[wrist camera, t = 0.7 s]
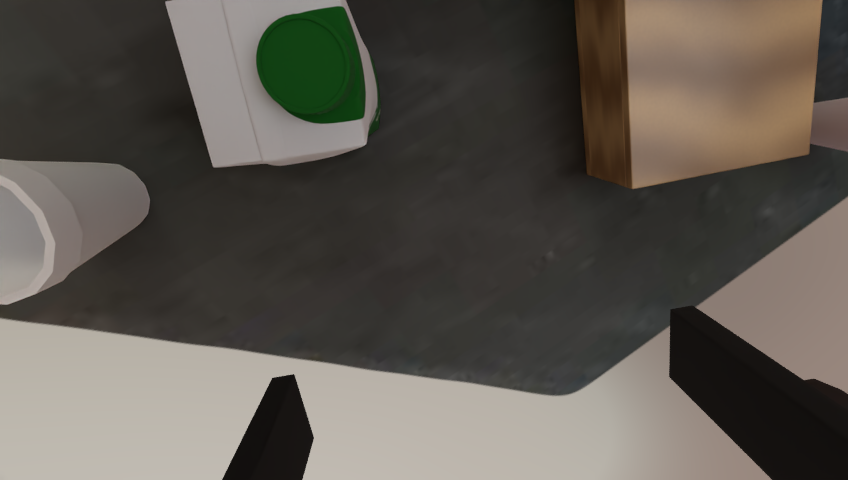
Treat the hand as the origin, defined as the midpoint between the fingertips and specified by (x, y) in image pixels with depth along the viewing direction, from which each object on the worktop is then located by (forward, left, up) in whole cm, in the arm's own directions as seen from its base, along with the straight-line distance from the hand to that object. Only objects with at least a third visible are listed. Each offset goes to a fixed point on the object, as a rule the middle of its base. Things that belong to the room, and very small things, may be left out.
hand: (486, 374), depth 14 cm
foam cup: (-7, -29, -27) cm, 40 cm away
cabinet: (-8, +22, -27) cm, 36 cm away
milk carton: (-12, -7, -27) cm, 30 cm away
